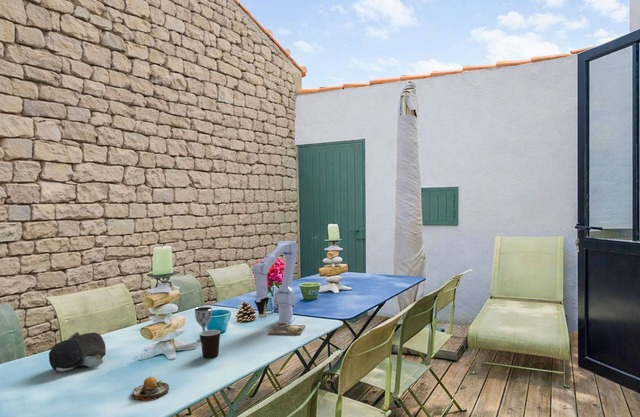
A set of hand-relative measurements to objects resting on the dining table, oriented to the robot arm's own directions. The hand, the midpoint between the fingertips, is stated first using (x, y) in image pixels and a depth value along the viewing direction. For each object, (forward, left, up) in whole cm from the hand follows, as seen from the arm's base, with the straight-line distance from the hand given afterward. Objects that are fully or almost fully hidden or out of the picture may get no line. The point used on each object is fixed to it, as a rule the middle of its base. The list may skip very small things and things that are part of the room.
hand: (262, 313), depth 224 cm
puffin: (+54, -62, -9) cm, 83 cm away
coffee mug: (+37, -12, -9) cm, 40 cm away
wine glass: (+17, -24, -9) cm, 31 cm away
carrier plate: (0, +13, -9) cm, 15 cm away
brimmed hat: (+76, -18, -9) cm, 79 cm away
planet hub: (0, 0, -2) cm, 2 cm away
